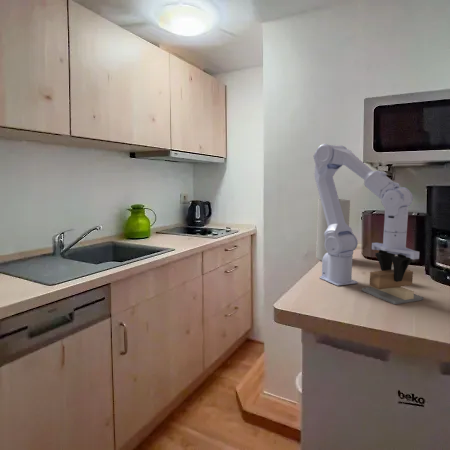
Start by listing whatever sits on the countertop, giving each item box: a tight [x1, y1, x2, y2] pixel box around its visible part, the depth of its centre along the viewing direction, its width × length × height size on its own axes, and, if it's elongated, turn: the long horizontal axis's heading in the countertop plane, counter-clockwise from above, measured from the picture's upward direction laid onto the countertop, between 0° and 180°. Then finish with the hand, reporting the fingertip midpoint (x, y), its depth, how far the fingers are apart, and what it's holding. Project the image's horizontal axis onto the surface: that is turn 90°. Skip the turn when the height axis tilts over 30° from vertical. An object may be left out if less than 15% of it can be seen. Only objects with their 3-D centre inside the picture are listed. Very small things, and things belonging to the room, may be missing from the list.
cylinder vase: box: [315, 198, 351, 262], centre depth 138 cm, size 12×12×25 cm
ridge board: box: [361, 286, 424, 305], centre depth 95 cm, size 12×10×3 cm
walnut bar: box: [369, 269, 414, 289], centre depth 95 cm, size 4×12×4 cm, turn 110°
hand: (392, 279), depth 95 cm, fingers closed on walnut bar, 3 cm apart
